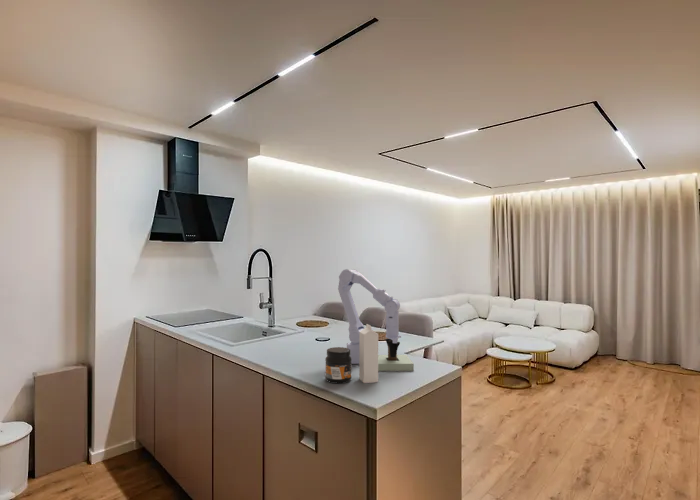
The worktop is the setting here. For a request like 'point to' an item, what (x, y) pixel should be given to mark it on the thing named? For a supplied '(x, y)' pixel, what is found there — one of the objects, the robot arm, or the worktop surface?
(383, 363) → the socket block
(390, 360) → the peg
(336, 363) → the supplement container
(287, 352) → the worktop surface
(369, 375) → the milk
